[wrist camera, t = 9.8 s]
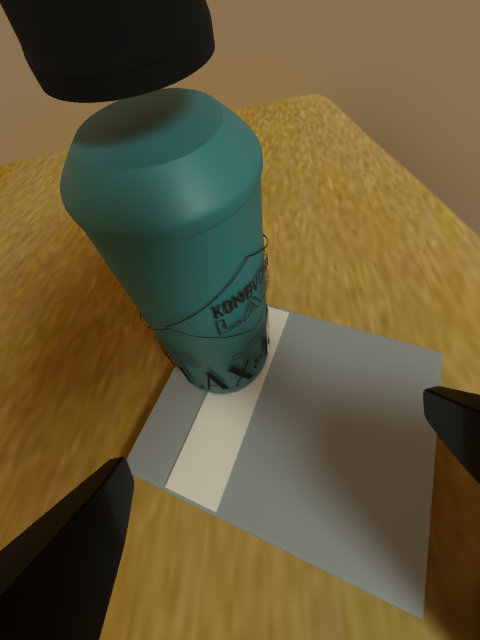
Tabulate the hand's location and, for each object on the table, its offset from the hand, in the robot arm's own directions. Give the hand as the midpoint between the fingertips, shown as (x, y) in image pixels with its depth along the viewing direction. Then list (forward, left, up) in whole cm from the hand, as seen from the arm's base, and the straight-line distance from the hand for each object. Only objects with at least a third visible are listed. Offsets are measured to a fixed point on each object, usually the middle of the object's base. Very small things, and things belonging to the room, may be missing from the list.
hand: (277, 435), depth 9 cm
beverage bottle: (+6, -6, -11) cm, 14 cm away
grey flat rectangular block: (0, -4, -12) cm, 13 cm away
